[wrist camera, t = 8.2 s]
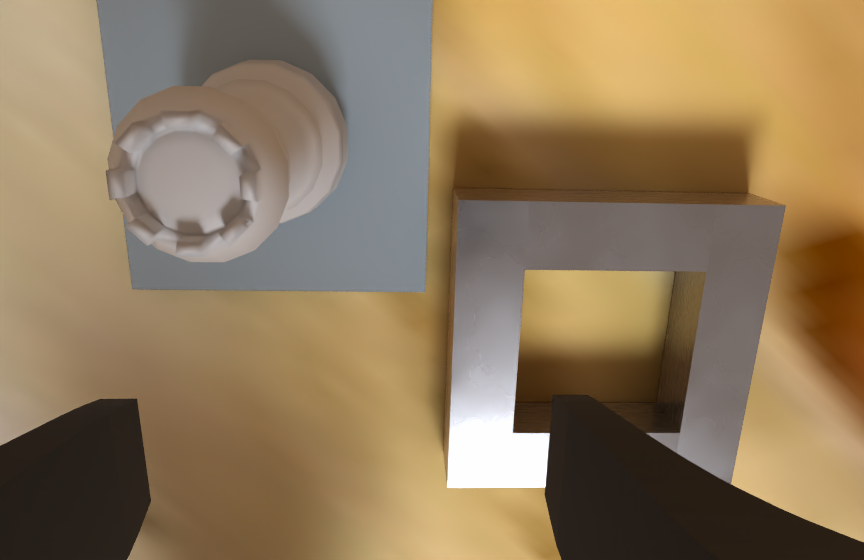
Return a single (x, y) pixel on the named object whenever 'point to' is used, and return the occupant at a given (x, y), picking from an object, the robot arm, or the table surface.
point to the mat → (360, 106)
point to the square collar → (612, 251)
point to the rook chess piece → (227, 159)
